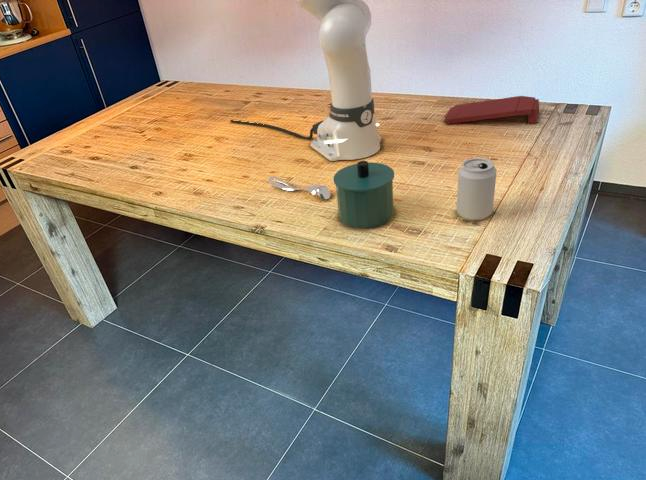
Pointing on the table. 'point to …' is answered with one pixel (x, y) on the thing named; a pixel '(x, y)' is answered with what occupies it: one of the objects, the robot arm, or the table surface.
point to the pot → (365, 207)
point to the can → (476, 188)
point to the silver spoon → (315, 189)
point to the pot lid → (363, 177)
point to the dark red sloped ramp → (495, 109)
